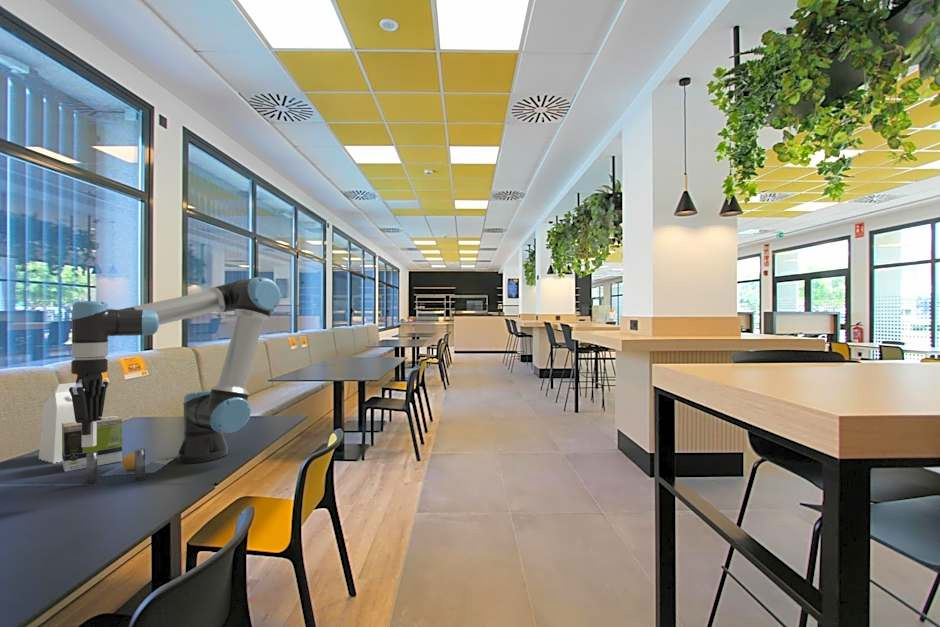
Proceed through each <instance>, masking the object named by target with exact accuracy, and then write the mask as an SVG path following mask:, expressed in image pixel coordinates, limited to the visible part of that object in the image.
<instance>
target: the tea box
mask: <svg viewBox="0 0 940 627" xmlns="http://www.w3.org/2000/svg"><path fill="white" fill-rule="evenodd" d="M101 418H102V419H101V420H98V421H97V445H96V446H94V447H82V423H77V422H76V421H72V422H64V423H62V462H61V463H62V467H63V471H64V472H71V471H77V470H81V469H82V470H83V469H86V461H87V453H89V452H95V451H96V452H98V466H103V465H109V464H113V463H119V462H121V463H122V461H123V424H122V423H123V422H122V420H123V419H122V418H121V417H119V416H118V415H110V416H102V417H101Z"/></svg>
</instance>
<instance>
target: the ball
mask: <svg viewBox="0 0 940 627" xmlns="http://www.w3.org/2000/svg"><path fill="white" fill-rule="evenodd" d="M121 464H122V465H123V467H124V468H125V469H126V470H130V471H131V470H135V452H130V453H128V454H127V455H125V456H124V457H123V458H122V461H121Z"/></svg>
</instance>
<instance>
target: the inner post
mask: <svg viewBox="0 0 940 627" xmlns="http://www.w3.org/2000/svg"><path fill="white" fill-rule="evenodd" d="M134 453H135V474H134V482H135V481H138V482H143V481H144V480H146V479H145V478H146V473H145V460H146V449H145V448H137V449H135V450H134ZM142 480H143V481H142Z"/></svg>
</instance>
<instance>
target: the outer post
mask: <svg viewBox="0 0 940 627" xmlns="http://www.w3.org/2000/svg"><path fill="white" fill-rule="evenodd" d="M98 467H99V465H98V452H96V451H95V452H89V453H87V461H86V468H85V470H86V478H85V479H86V481H85V484H93V485H95V483H96V484H98Z"/></svg>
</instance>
